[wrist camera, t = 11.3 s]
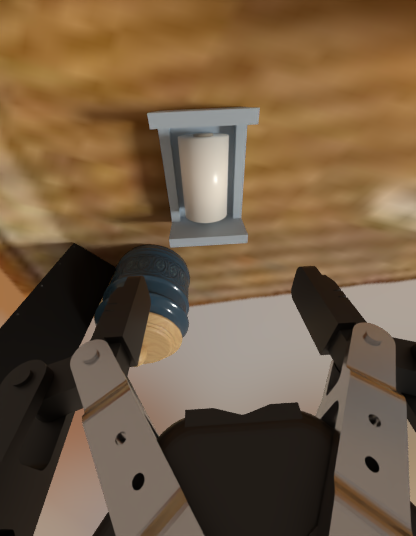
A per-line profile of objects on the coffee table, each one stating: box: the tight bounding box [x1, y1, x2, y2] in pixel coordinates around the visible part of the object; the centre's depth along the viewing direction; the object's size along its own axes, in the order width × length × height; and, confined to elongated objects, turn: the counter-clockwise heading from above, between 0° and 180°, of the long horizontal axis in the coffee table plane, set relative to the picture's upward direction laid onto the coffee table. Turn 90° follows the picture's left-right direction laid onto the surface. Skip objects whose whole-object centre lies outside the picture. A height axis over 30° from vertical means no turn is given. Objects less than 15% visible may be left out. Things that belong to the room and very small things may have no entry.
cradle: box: [147, 107, 260, 247], centre depth 26 cm, size 10×14×8 cm
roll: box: [178, 133, 229, 223], centre depth 26 cm, size 9×6×6 cm, turn 1°
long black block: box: [0, 243, 116, 384], centre depth 27 cm, size 8×8×28 cm
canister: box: [94, 245, 190, 367], centre depth 32 cm, size 13×13×18 cm
